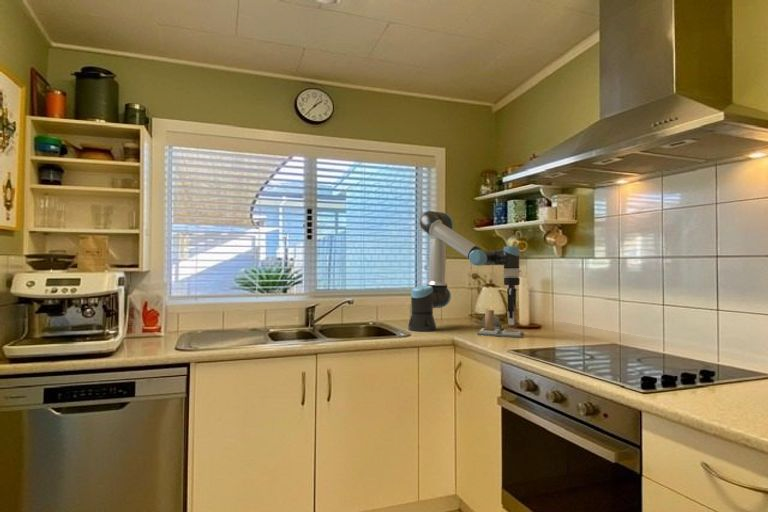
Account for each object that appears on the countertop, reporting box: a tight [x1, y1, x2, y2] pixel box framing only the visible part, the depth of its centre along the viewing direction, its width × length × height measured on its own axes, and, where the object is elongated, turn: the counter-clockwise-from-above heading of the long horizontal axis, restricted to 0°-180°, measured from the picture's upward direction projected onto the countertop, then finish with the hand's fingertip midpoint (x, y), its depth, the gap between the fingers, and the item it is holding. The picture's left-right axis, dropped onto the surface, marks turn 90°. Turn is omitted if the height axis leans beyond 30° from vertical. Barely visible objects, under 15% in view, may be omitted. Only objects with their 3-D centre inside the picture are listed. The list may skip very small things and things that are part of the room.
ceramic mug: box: [481, 314, 504, 331], centre depth 240 cm, size 11×8×8 cm
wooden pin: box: [506, 304, 518, 329], centre depth 219 cm, size 4×4×11 cm
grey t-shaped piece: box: [476, 309, 525, 339], centre depth 221 cm, size 21×12×12 cm, turn 66°
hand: (512, 323), depth 218 cm, fingers closed on wooden pin, 4 cm apart
